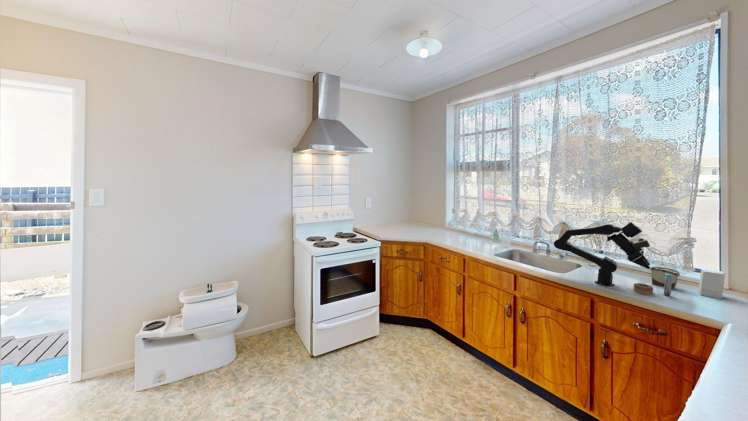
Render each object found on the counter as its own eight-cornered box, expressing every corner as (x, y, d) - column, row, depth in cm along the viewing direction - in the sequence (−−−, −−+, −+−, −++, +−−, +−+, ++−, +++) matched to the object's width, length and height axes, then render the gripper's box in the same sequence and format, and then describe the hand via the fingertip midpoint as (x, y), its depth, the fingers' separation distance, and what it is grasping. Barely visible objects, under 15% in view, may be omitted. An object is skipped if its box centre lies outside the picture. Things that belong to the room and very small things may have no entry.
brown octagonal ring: (644, 294, 148) (645, 288, 148) (630, 289, 155) (630, 283, 154) (655, 294, 149) (656, 287, 149) (641, 289, 156) (641, 282, 156)
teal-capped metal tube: (667, 296, 146) (669, 275, 145) (662, 294, 148) (664, 273, 147) (671, 296, 146) (673, 275, 145) (666, 294, 149) (668, 273, 148)
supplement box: (722, 299, 143) (725, 274, 142) (700, 295, 148) (702, 271, 147) (719, 295, 148) (722, 271, 147) (698, 291, 154) (700, 268, 152)
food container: (683, 289, 156) (685, 271, 155) (677, 291, 154) (679, 272, 153) (654, 282, 167) (656, 265, 167) (648, 283, 165) (650, 266, 164)
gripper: (638, 236, 146) (667, 261, 140) (638, 232, 160) (665, 255, 154) (616, 249, 152) (643, 273, 146) (619, 244, 166) (643, 266, 160)
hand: (649, 266), depth 151 cm, fingers open, 9 cm apart
